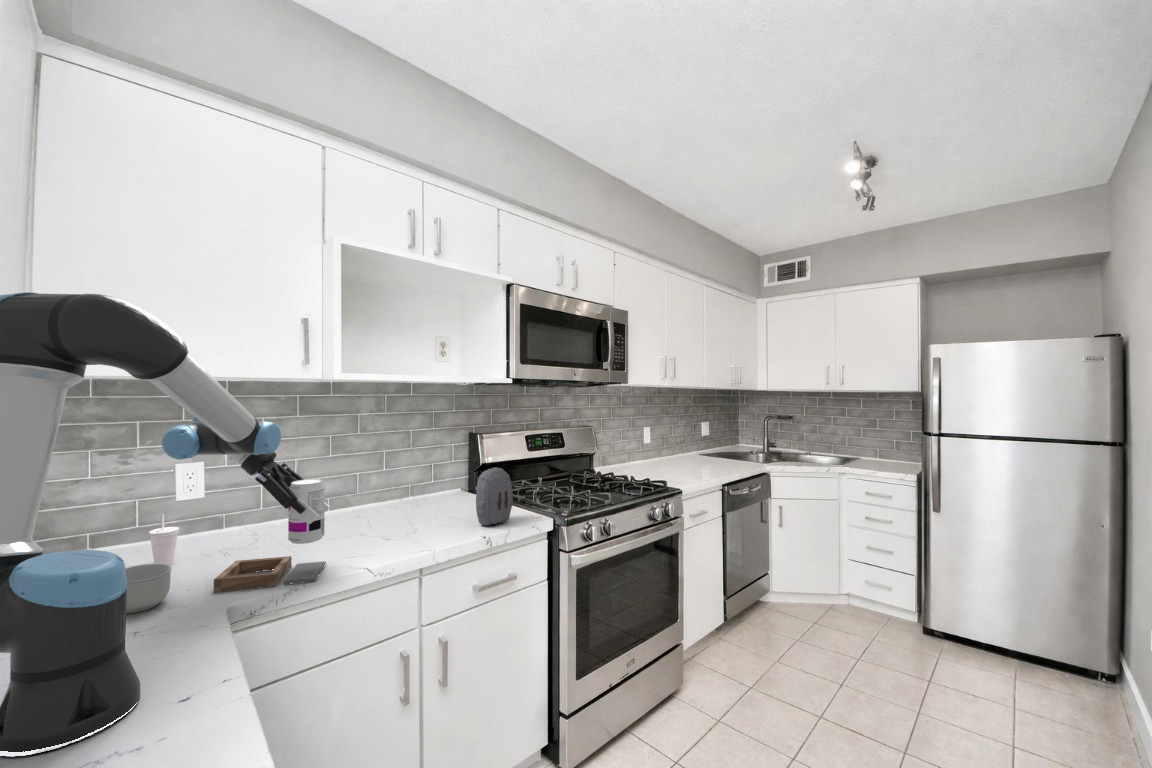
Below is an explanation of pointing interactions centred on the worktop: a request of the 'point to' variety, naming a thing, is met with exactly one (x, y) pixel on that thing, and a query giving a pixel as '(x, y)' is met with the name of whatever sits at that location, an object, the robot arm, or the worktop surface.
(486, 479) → the soft grey pack
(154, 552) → the smoothie
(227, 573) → the pocket frame
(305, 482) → the supplement can
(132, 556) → the worktop surface
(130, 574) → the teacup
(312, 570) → the rubber mat
